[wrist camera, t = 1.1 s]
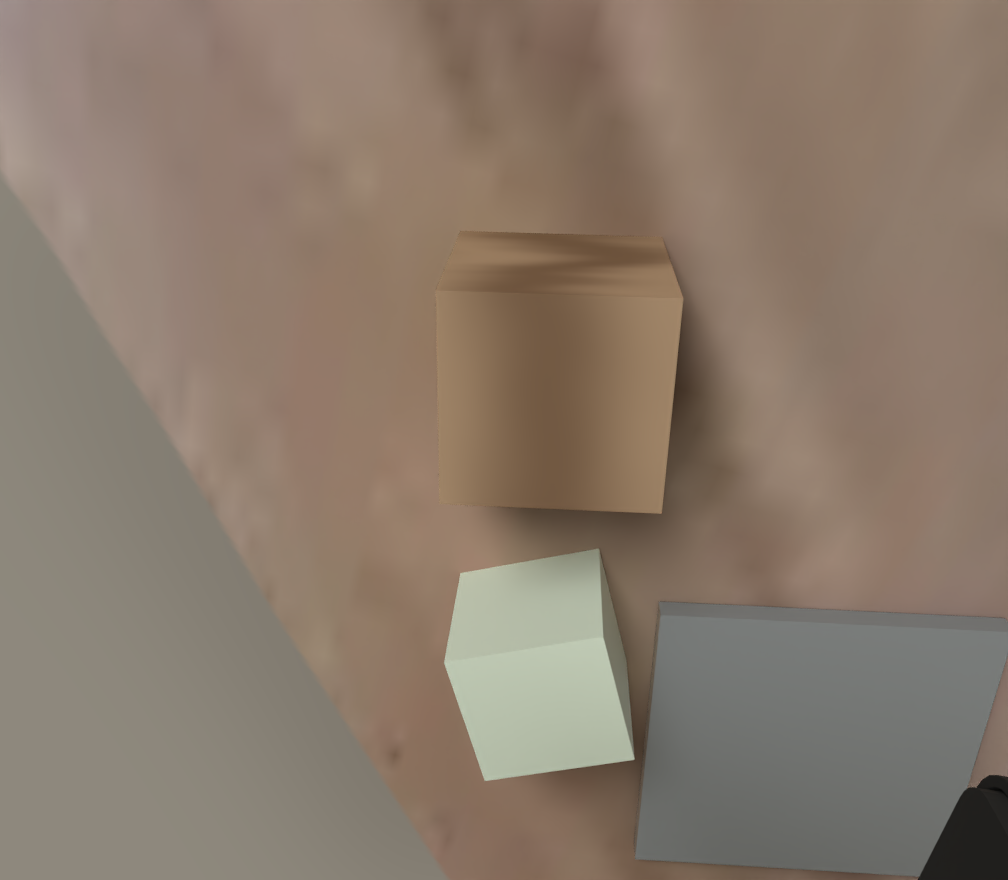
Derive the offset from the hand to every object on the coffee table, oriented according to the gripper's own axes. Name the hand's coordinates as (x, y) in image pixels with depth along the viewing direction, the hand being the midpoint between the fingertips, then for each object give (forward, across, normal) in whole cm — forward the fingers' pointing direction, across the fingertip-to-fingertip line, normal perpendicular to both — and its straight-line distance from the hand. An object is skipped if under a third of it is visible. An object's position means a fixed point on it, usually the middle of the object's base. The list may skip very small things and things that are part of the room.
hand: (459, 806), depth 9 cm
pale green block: (+22, -4, +13) cm, 26 cm away
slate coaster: (+22, -14, +16) cm, 31 cm away
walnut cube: (+22, -2, +2) cm, 22 cm away
